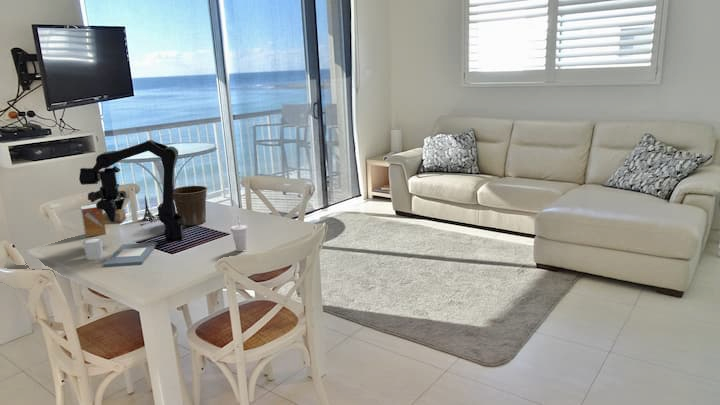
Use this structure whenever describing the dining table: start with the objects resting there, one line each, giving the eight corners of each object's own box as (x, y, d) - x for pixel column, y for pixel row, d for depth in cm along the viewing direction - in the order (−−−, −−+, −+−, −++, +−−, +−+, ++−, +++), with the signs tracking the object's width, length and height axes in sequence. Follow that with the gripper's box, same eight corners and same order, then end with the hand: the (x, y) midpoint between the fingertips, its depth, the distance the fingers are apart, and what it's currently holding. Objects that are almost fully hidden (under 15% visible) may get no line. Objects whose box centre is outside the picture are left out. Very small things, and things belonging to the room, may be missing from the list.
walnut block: (126, 218, 221) (124, 209, 220) (121, 223, 215) (119, 213, 213) (109, 220, 220) (108, 210, 219) (104, 224, 214) (102, 214, 213)
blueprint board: (157, 244, 217) (157, 241, 217) (142, 264, 196) (141, 261, 196) (122, 246, 215) (122, 244, 215) (103, 266, 194) (103, 263, 194)
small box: (86, 237, 228) (81, 209, 225) (84, 234, 233) (79, 206, 230) (106, 233, 232) (101, 206, 229) (104, 230, 238) (99, 203, 234)
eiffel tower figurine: (141, 226, 243) (137, 199, 239) (128, 223, 248) (124, 196, 245) (168, 218, 255) (165, 192, 251) (155, 215, 260) (152, 189, 257)
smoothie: (252, 248, 209) (249, 214, 205) (244, 253, 203) (240, 219, 199) (238, 246, 211) (235, 213, 207) (229, 252, 205) (226, 218, 202)
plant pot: (201, 215, 257) (197, 183, 252) (216, 221, 245) (213, 188, 241) (169, 222, 246) (164, 189, 242) (184, 230, 235) (179, 195, 230)
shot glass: (89, 254, 207) (86, 238, 205) (107, 253, 208) (104, 237, 206) (82, 261, 201) (79, 244, 199) (100, 260, 201) (97, 243, 199)
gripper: (97, 179, 221) (103, 214, 225) (79, 189, 203) (86, 227, 207) (124, 177, 222) (129, 212, 226) (109, 188, 204) (115, 225, 209)
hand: (115, 219), depth 217 cm, fingers closed on walnut block, 7 cm apart
